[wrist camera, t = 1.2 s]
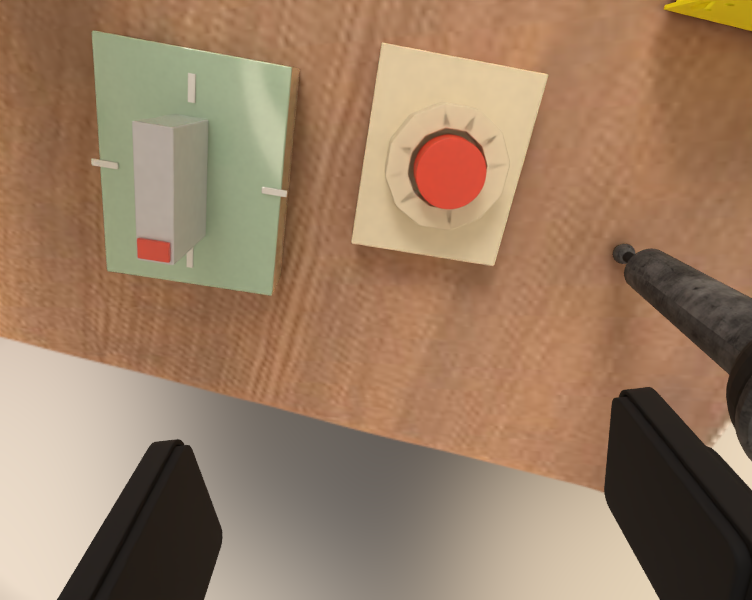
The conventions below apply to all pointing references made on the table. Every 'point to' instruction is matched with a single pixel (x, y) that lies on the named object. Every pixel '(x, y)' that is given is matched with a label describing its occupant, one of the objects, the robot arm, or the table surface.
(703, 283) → the microphone
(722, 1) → the yellow toy chassis
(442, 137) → the button
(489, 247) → the beige button housing
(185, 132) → the red-tabbed grey block
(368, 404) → the table surface
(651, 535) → the robot arm
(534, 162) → the table surface
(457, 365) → the table surface
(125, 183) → the base
